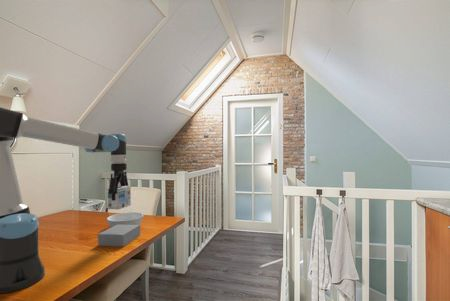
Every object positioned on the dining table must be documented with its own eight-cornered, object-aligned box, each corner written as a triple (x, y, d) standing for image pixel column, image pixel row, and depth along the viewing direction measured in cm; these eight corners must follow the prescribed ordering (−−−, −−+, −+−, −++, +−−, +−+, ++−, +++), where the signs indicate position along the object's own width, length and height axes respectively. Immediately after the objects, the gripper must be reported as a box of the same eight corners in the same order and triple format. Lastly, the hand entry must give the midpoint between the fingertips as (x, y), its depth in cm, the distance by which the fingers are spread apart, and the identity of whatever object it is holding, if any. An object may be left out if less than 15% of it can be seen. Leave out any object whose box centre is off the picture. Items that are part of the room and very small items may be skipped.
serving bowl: (127, 234, 133) (127, 222, 133) (99, 231, 139) (98, 219, 140) (150, 223, 152) (150, 213, 152) (124, 221, 159) (124, 211, 159)
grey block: (123, 247, 115) (123, 234, 115) (98, 246, 117) (97, 234, 117) (140, 235, 131) (140, 224, 131) (117, 234, 133) (117, 224, 133)
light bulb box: (118, 209, 118) (118, 188, 118) (107, 209, 120) (106, 188, 120) (131, 205, 129) (130, 185, 129) (120, 204, 130) (120, 185, 130)
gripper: (115, 163, 113) (116, 209, 112) (134, 161, 136) (135, 199, 136) (100, 164, 112) (101, 209, 112) (121, 162, 136) (122, 199, 136)
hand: (119, 204), depth 124 cm, fingers closed on light bulb box, 11 cm apart
